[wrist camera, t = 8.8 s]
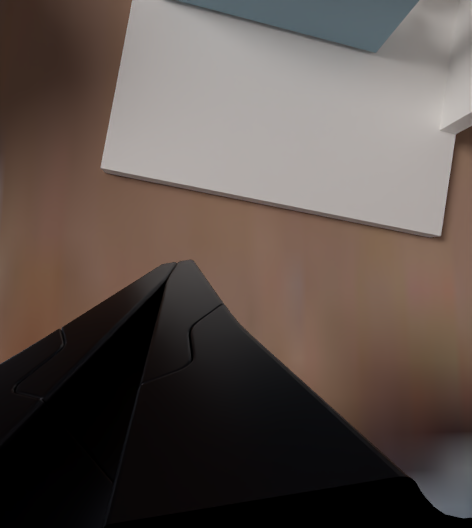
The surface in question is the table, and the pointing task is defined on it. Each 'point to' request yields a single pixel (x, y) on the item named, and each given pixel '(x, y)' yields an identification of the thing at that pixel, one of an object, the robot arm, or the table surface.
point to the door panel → (323, 17)
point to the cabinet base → (295, 112)
